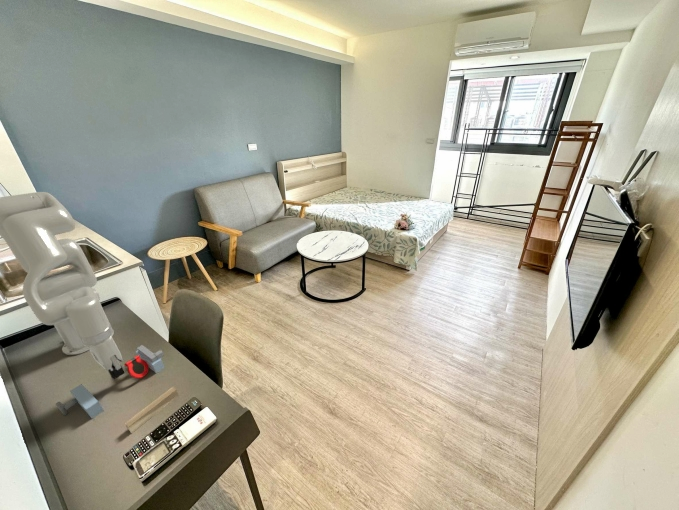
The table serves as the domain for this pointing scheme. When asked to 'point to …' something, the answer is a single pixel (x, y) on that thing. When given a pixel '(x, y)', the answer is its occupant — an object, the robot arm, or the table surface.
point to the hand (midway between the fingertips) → (118, 375)
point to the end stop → (151, 410)
